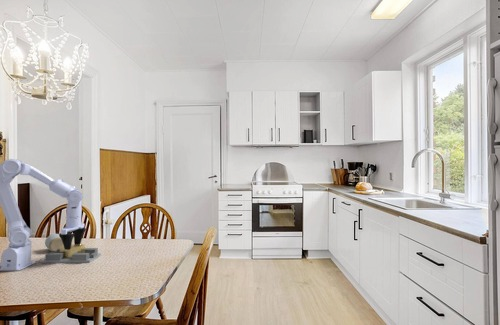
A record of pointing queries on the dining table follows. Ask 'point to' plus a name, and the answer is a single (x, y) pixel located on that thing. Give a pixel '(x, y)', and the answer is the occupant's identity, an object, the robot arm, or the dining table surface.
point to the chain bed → (68, 260)
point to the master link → (72, 250)
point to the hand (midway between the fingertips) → (72, 247)
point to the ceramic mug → (53, 242)
